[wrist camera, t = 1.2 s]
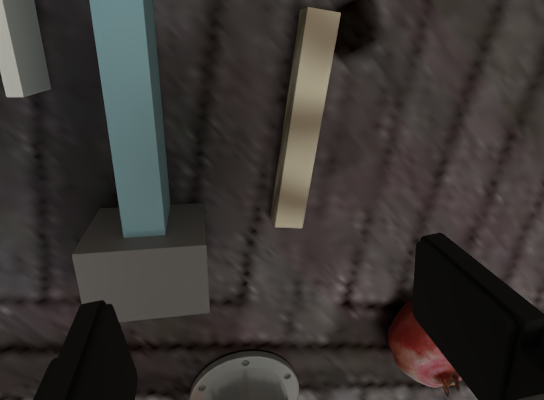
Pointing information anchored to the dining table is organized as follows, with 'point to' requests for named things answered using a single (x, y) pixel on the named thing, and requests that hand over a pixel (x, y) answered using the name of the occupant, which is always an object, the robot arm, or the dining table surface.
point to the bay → (21, 50)
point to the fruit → (419, 352)
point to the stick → (303, 114)
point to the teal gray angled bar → (139, 186)
